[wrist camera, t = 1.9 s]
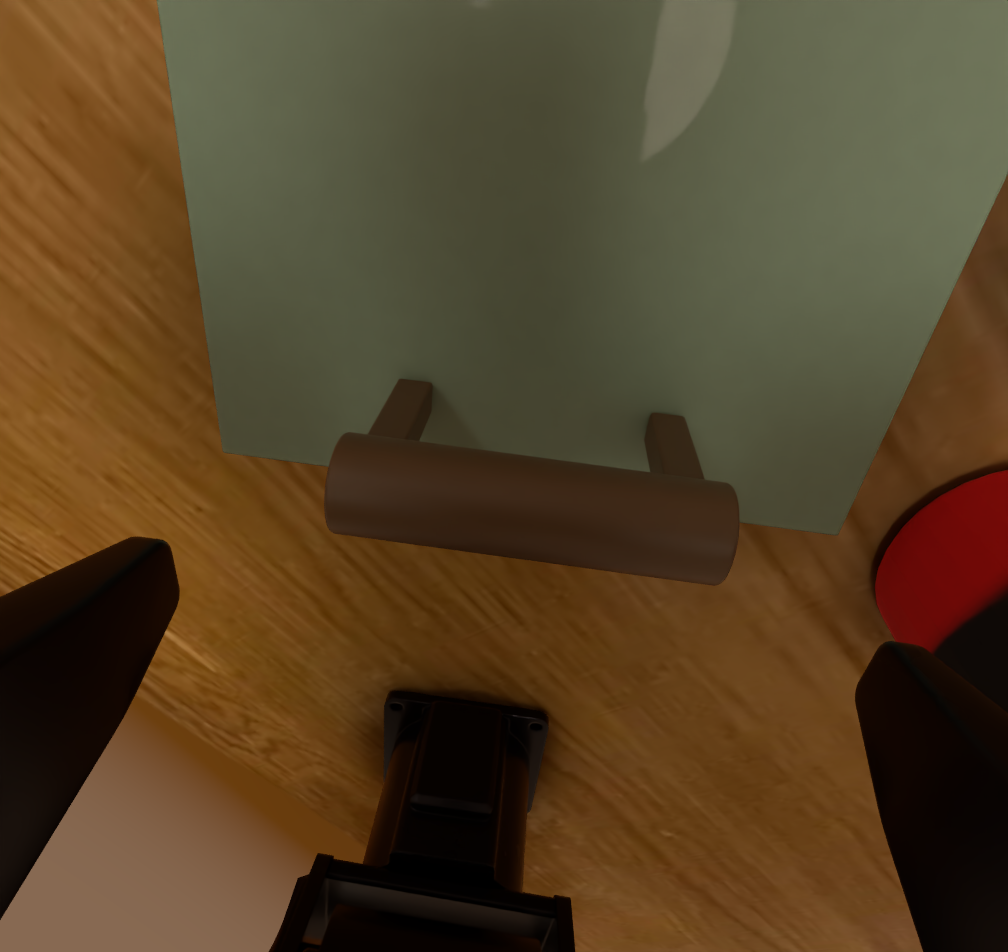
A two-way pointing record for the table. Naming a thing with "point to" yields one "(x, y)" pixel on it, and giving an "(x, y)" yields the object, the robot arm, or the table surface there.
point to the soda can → (954, 583)
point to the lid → (580, 254)
